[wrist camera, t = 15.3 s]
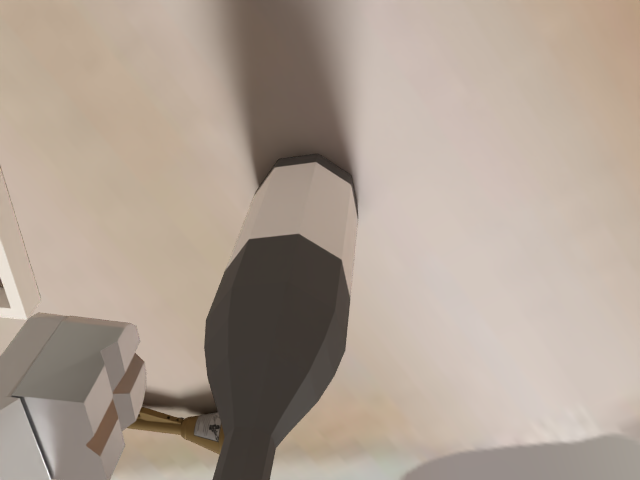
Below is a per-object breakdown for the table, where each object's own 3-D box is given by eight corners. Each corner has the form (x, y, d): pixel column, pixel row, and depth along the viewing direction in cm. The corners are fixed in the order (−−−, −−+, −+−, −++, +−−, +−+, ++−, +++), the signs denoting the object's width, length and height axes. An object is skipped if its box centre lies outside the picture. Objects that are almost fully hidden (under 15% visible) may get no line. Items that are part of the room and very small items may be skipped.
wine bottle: (371, 164, 44) (339, 589, 20) (347, 250, 49) (297, 679, 24) (264, 140, 44) (97, 538, 19) (251, 228, 49) (101, 640, 24)
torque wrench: (-34, 398, 68) (-47, 366, 66) (264, 435, 64) (262, 402, 61) (-63, 429, 64) (-78, 397, 62) (253, 471, 60) (251, 438, 57)
